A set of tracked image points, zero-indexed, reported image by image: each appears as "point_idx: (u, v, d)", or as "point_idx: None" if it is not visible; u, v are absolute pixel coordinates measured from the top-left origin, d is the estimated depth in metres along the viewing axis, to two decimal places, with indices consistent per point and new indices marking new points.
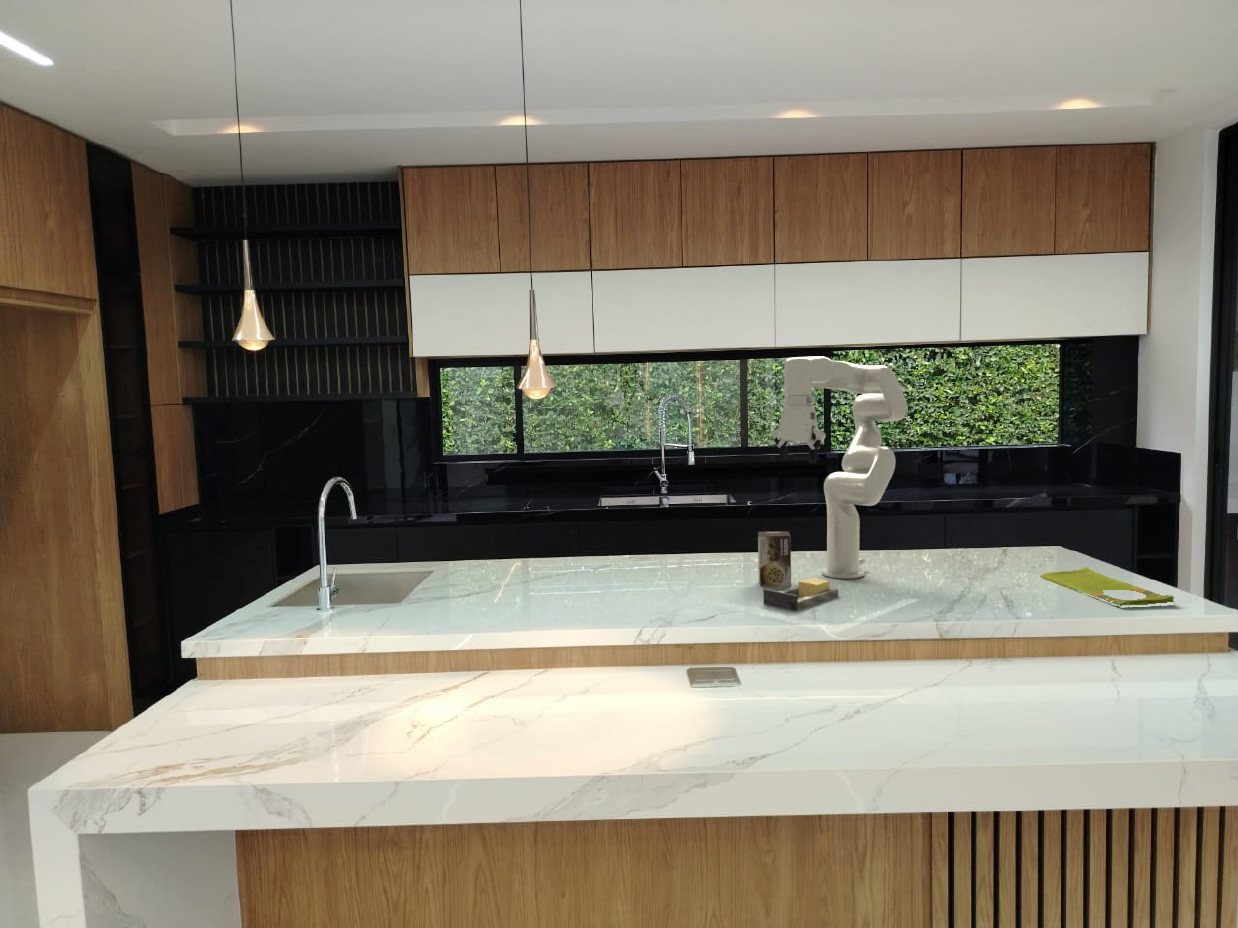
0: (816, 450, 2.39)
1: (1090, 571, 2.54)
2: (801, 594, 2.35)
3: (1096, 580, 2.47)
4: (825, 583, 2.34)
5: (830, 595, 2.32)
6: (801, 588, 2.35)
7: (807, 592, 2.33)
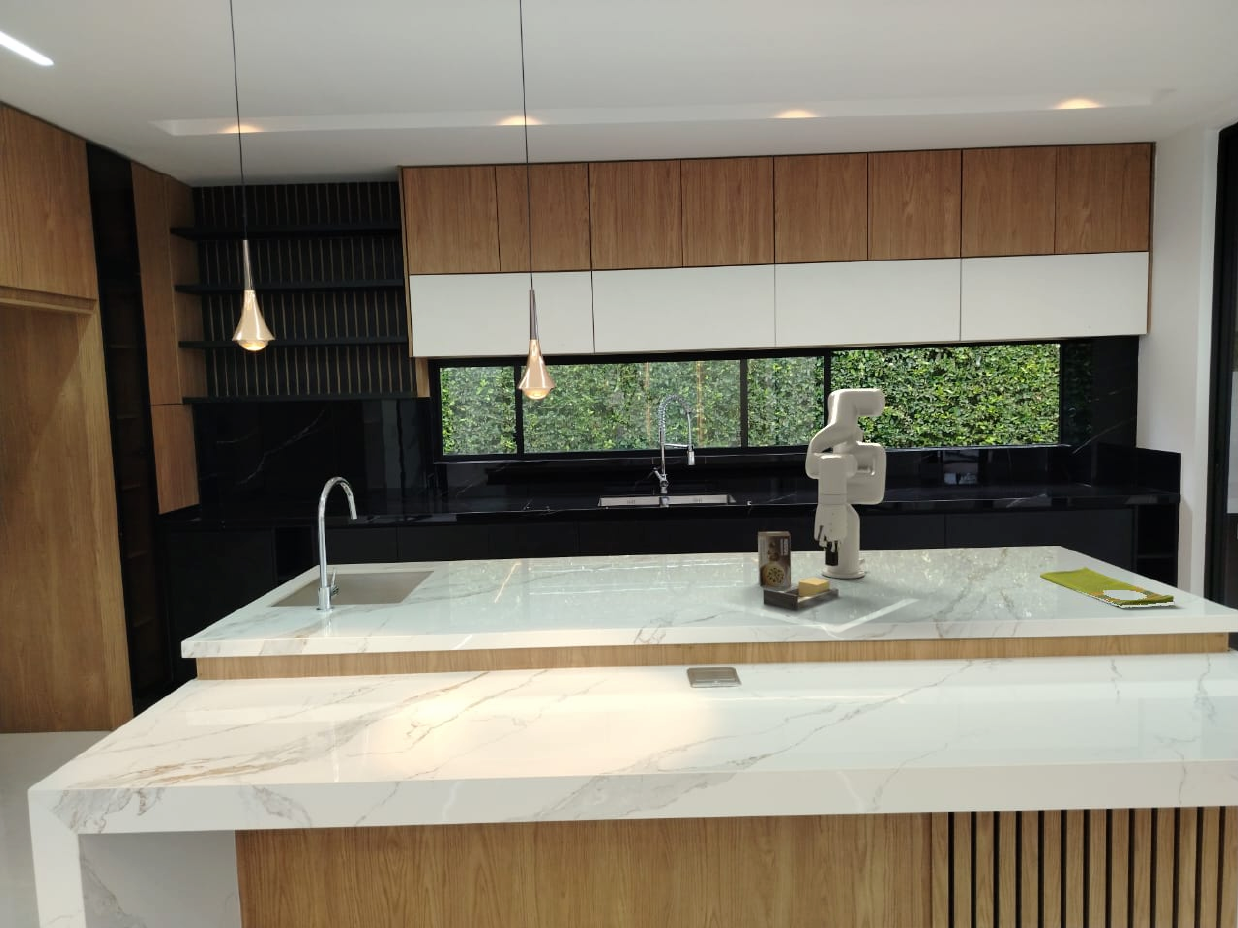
0: None
1: (1090, 571, 2.54)
2: (801, 594, 2.35)
3: (1096, 580, 2.47)
4: (825, 583, 2.34)
5: (830, 595, 2.32)
6: (801, 588, 2.35)
7: (807, 592, 2.33)
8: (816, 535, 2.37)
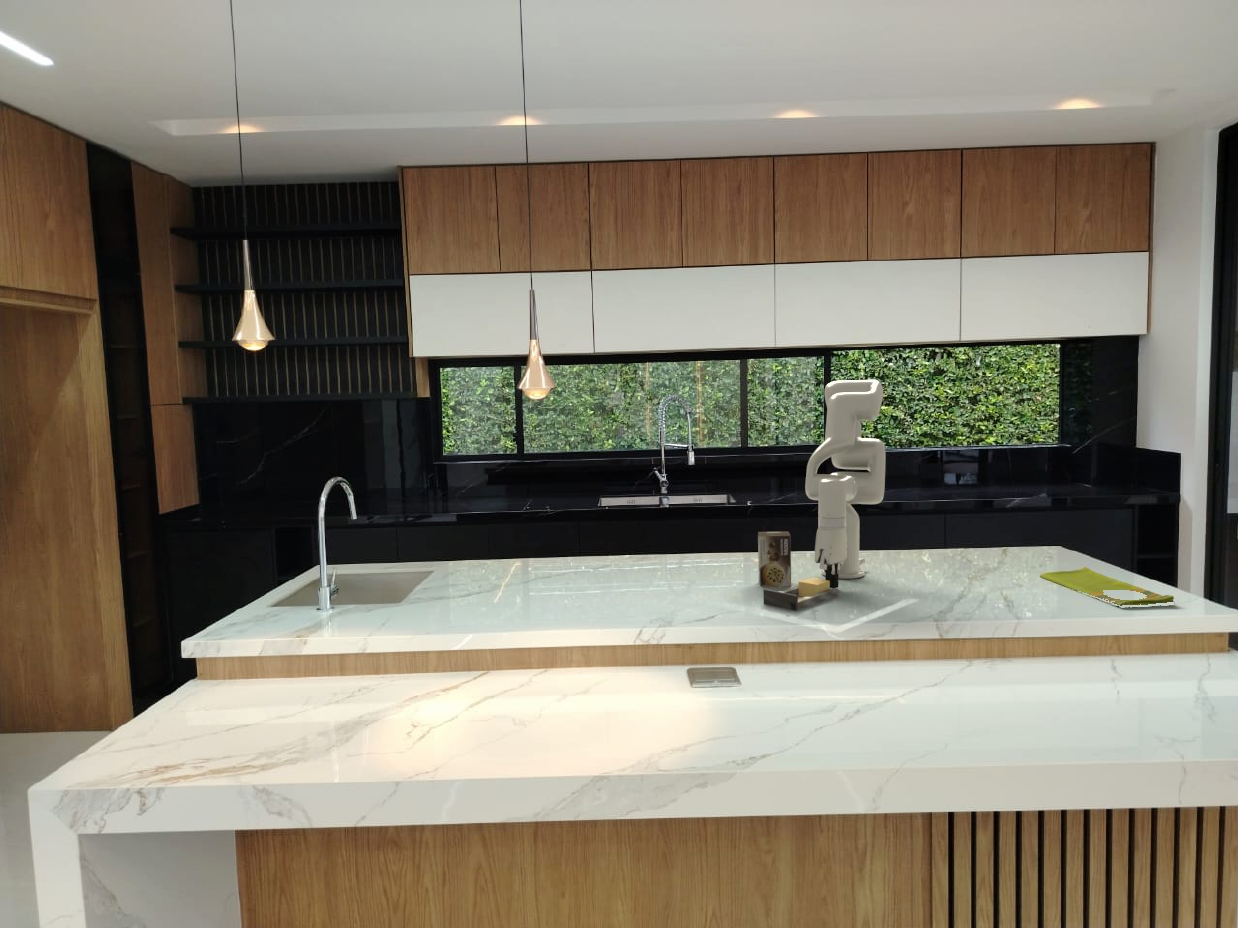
0: None
1: (1090, 571, 2.54)
2: (801, 594, 2.35)
3: (1096, 580, 2.47)
4: (825, 583, 2.34)
5: (830, 595, 2.32)
6: (801, 588, 2.35)
7: (807, 592, 2.33)
8: (816, 558, 2.38)
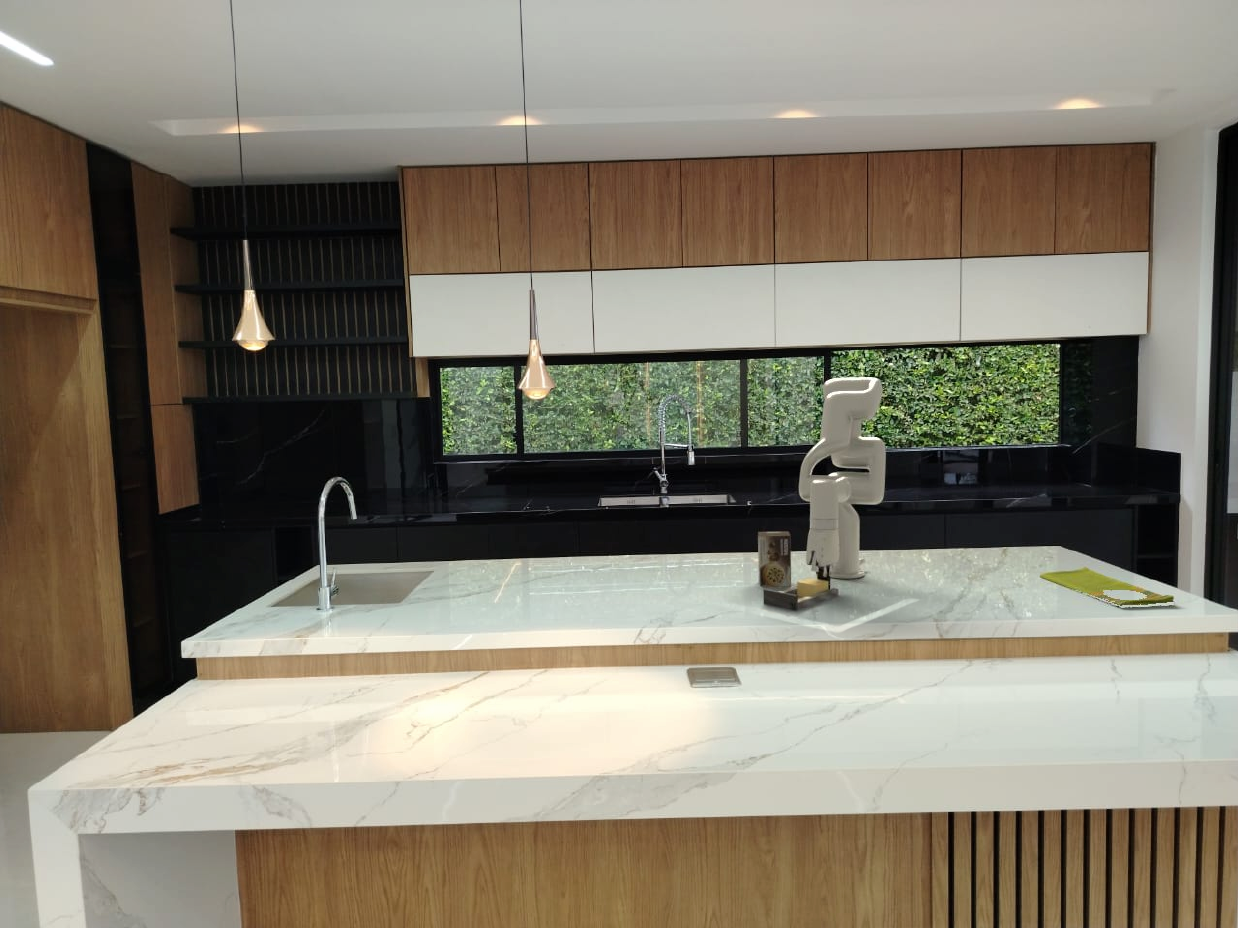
0: None
1: (1089, 571, 2.54)
2: (800, 594, 2.34)
3: (1096, 580, 2.47)
4: (824, 584, 2.33)
5: (830, 595, 2.32)
6: (799, 589, 2.34)
7: (806, 592, 2.33)
8: (808, 560, 2.35)
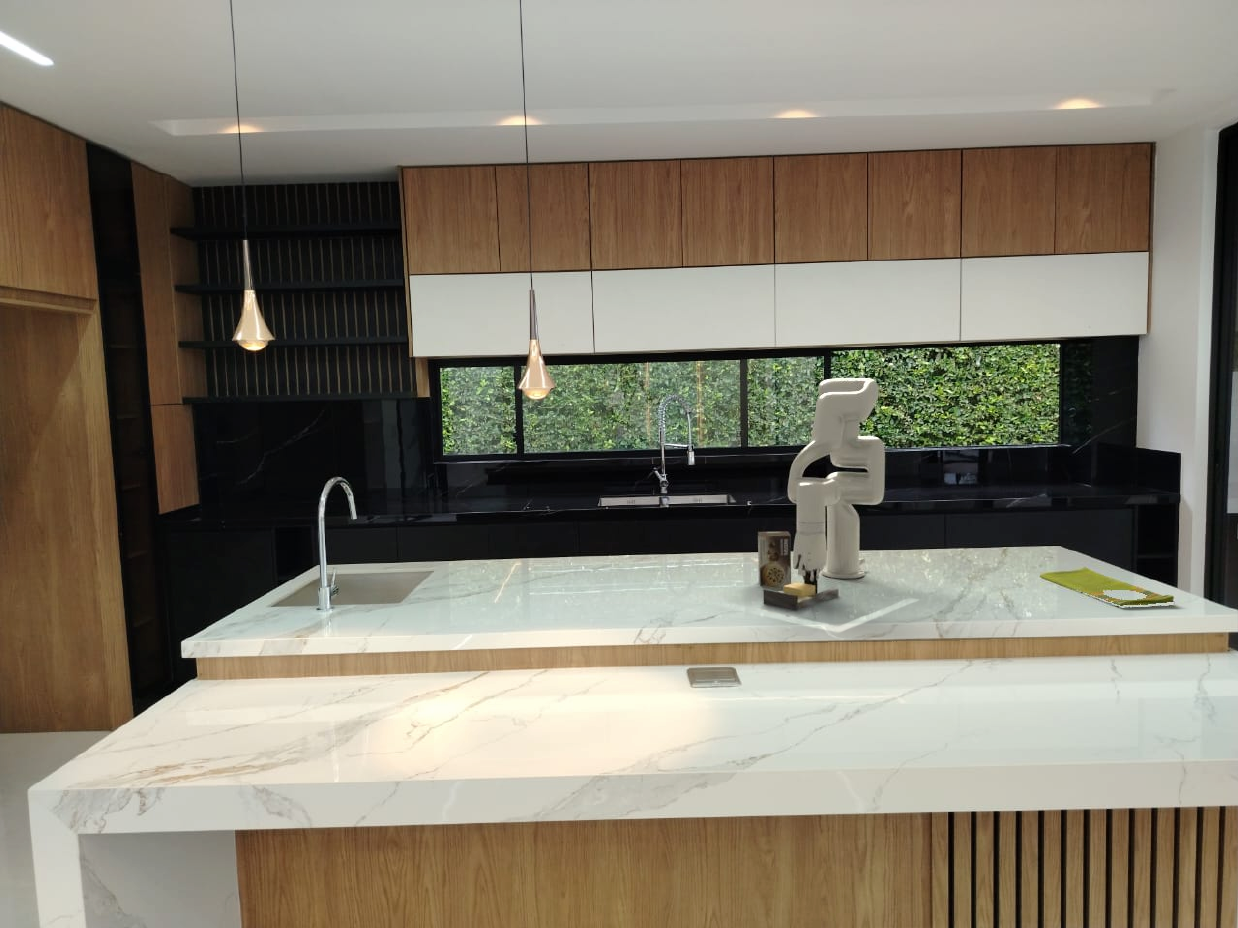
0: None
1: (1089, 571, 2.54)
2: None
3: (1095, 580, 2.47)
4: (810, 588, 2.29)
5: (830, 595, 2.32)
6: None
7: None
8: (794, 564, 2.31)
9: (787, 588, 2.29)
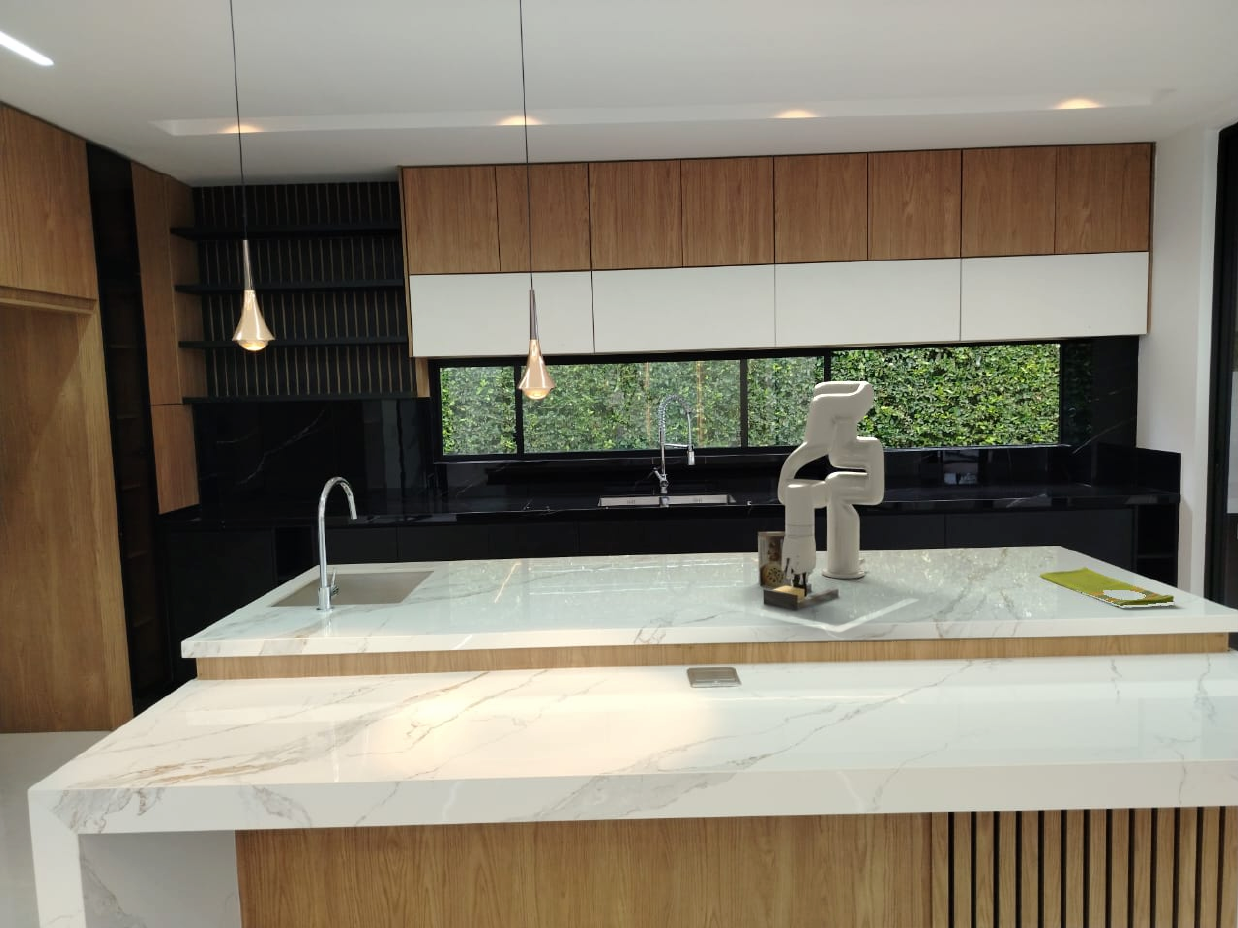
0: None
1: (1089, 571, 2.54)
2: None
3: (1095, 580, 2.47)
4: (799, 592, 2.25)
5: (830, 595, 2.32)
6: None
7: None
8: (783, 567, 2.28)
9: None
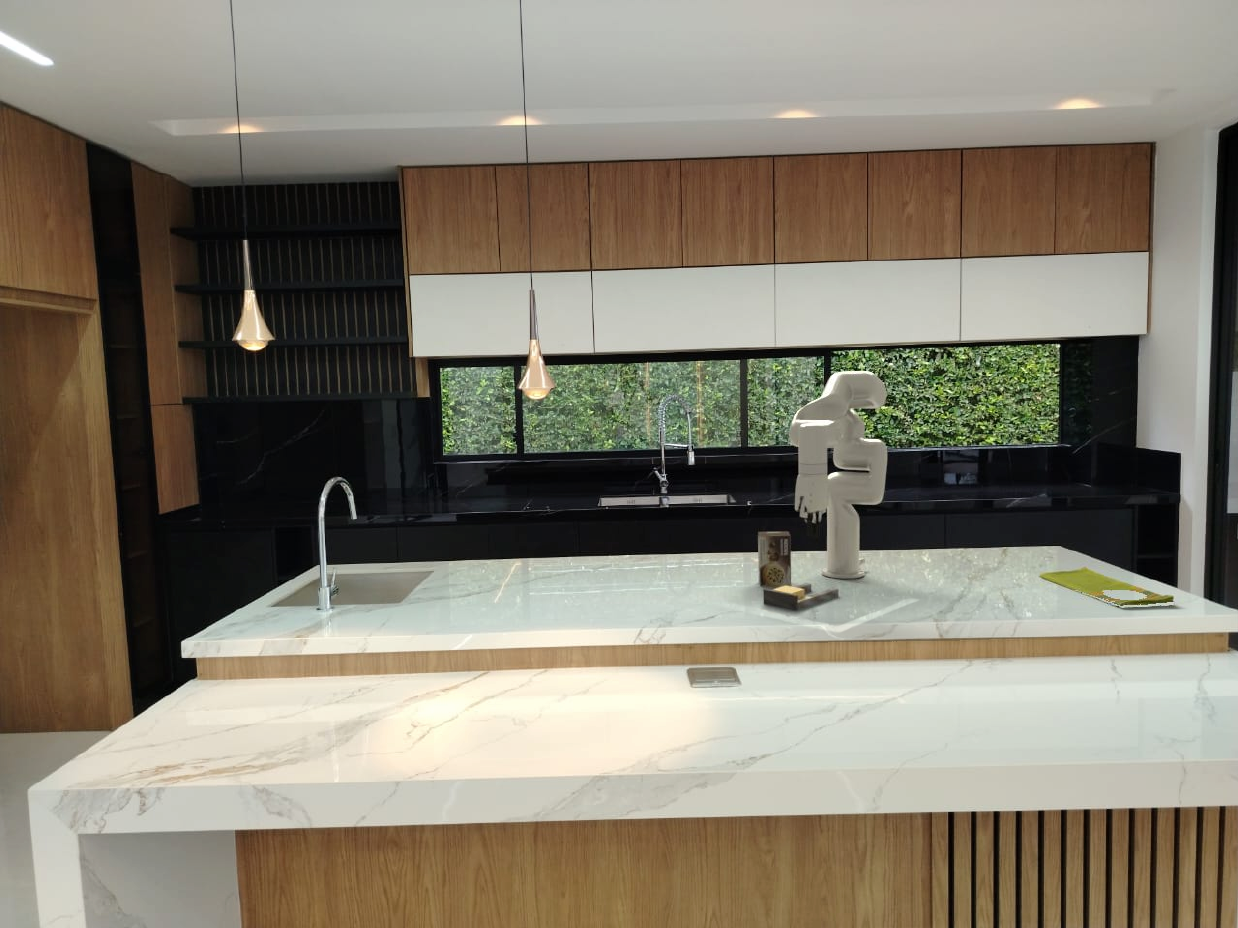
0: None
1: (1089, 571, 2.54)
2: None
3: (1095, 580, 2.47)
4: (800, 592, 2.25)
5: (830, 595, 2.32)
6: None
7: None
8: (796, 506, 2.30)
9: None
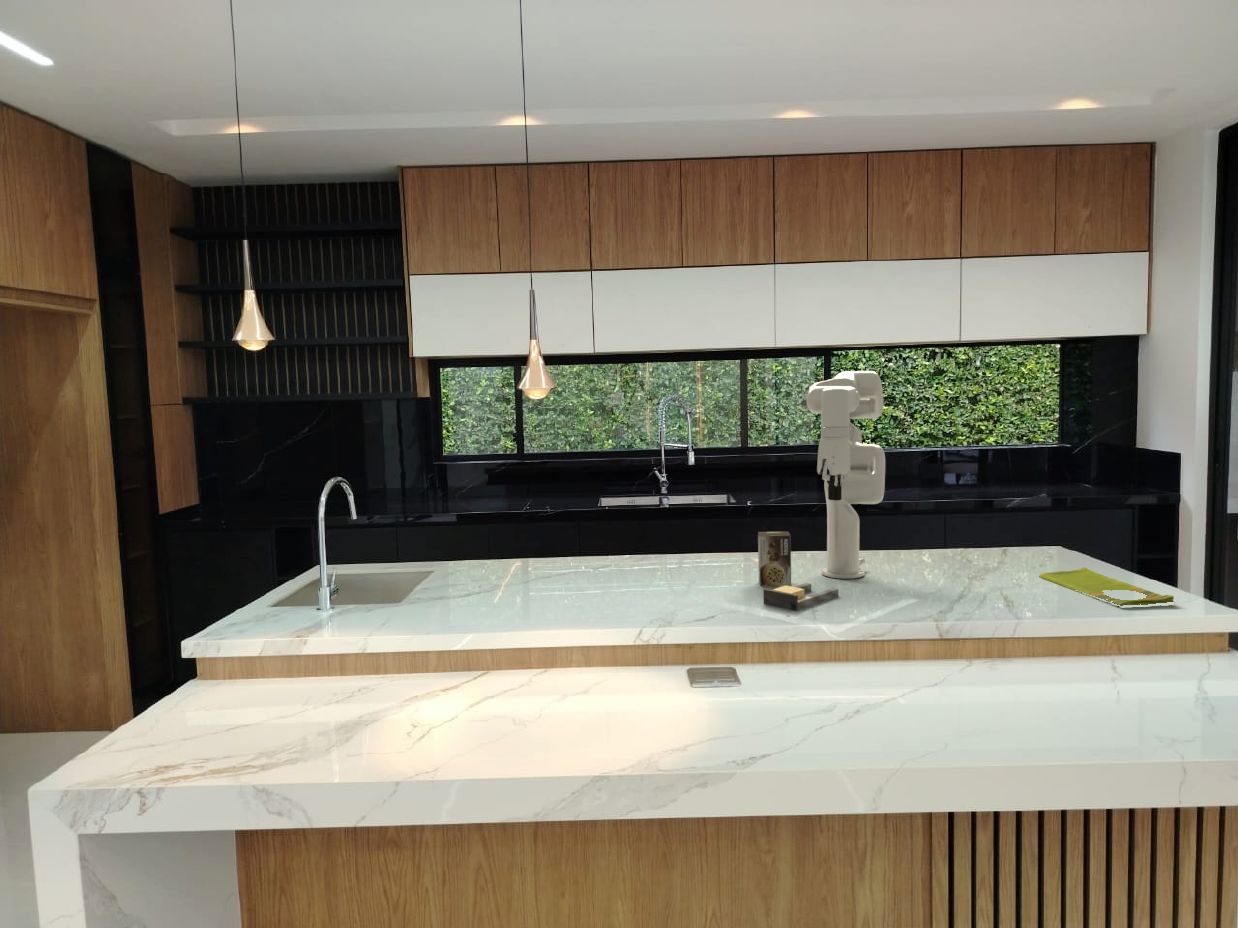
0: None
1: (1089, 571, 2.54)
2: None
3: (1095, 580, 2.47)
4: (800, 592, 2.25)
5: (830, 595, 2.32)
6: None
7: None
8: (819, 469, 2.33)
9: None
